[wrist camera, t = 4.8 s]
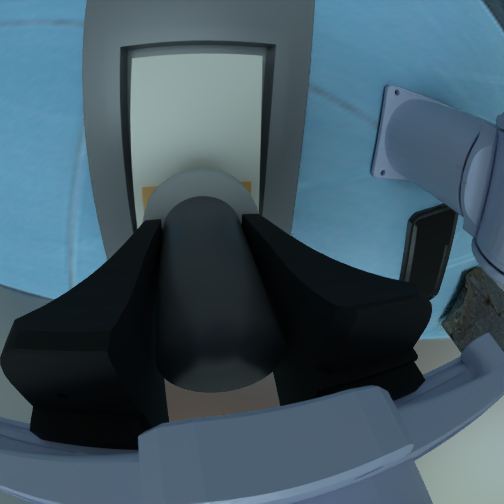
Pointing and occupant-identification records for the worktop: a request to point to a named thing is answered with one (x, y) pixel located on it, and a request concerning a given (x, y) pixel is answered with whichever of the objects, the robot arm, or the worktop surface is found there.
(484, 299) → the geological specimen
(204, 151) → the rocker switch
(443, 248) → the phone
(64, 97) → the worktop surface
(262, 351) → the dark round-ended cylinder
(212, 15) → the switch panel
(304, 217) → the worktop surface
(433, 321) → the worktop surface
